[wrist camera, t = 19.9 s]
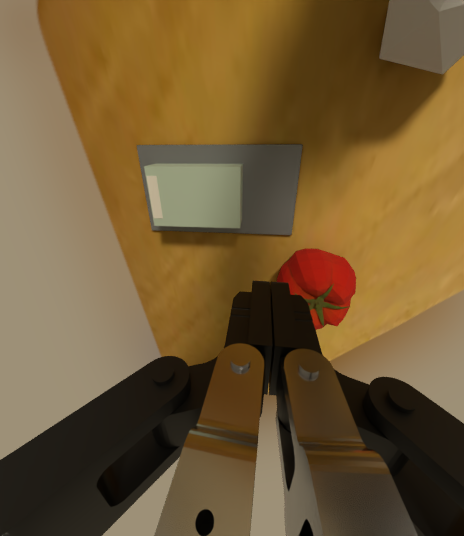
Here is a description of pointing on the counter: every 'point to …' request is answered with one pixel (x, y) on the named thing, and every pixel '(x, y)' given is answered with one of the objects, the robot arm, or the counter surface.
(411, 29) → the die
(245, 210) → the mat
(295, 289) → the tomato
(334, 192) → the counter surface
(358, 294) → the counter surface
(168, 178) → the slab
